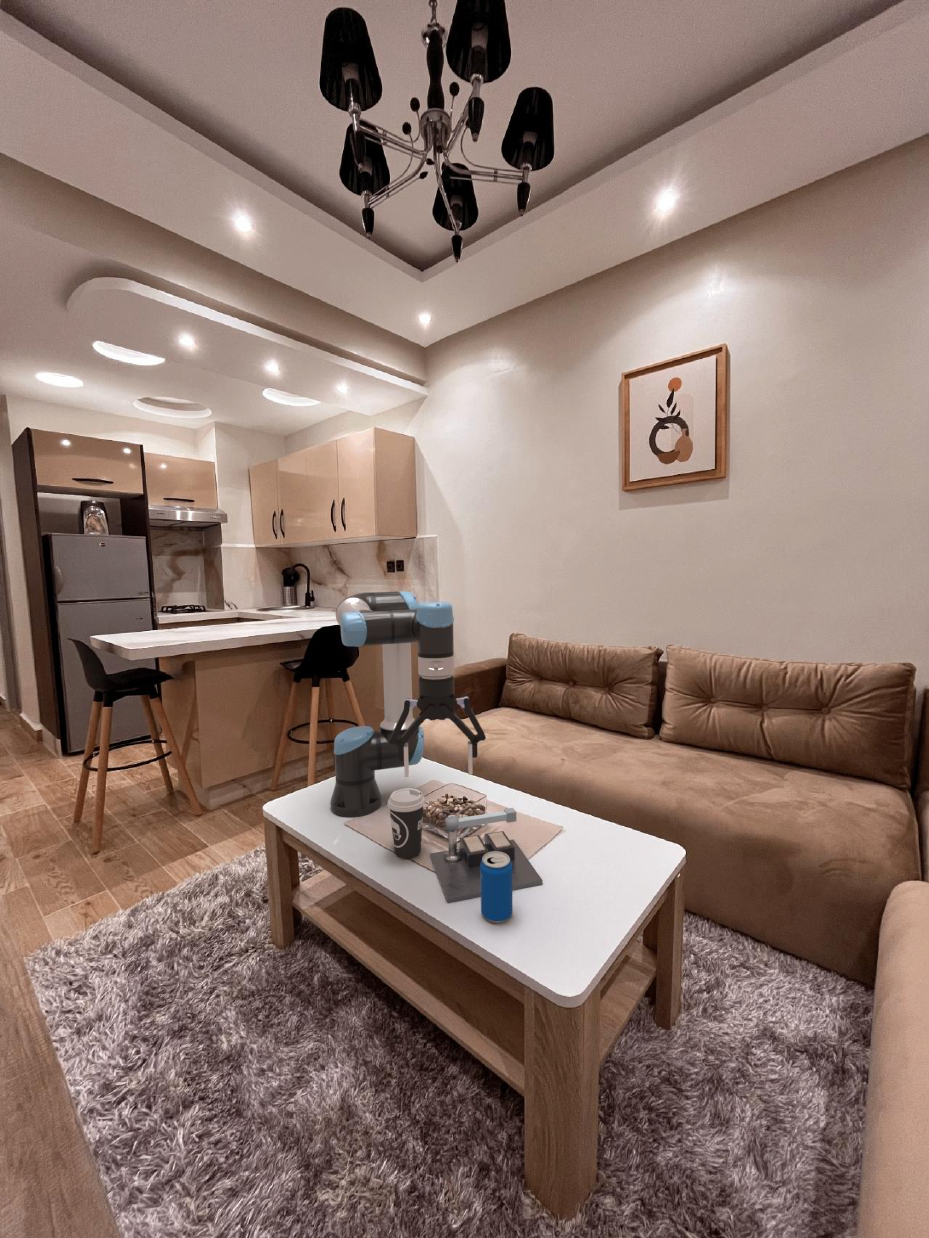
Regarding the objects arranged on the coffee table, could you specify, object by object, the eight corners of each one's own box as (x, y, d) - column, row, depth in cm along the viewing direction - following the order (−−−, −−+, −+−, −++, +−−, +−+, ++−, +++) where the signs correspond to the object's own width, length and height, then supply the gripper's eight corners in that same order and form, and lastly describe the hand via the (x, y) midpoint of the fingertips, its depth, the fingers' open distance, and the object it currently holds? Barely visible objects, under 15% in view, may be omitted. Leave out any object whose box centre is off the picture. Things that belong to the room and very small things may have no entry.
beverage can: (479, 905, 106) (478, 851, 105) (509, 902, 106) (509, 849, 105) (483, 926, 99) (482, 869, 98) (515, 924, 100) (514, 867, 99)
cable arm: (444, 826, 122) (444, 817, 122) (512, 816, 127) (512, 807, 127) (447, 833, 119) (447, 823, 119) (517, 822, 124) (516, 812, 124)
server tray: (430, 857, 124) (429, 825, 123) (513, 843, 129) (513, 812, 129) (447, 903, 106) (446, 866, 106) (542, 884, 112) (542, 849, 111)
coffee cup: (420, 864, 121) (418, 805, 119) (383, 860, 122) (381, 802, 121) (431, 843, 130) (429, 788, 128) (396, 840, 132) (394, 785, 130)
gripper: (374, 681, 100) (378, 783, 102) (497, 677, 102) (498, 777, 104) (378, 674, 108) (381, 769, 110) (493, 670, 109) (494, 764, 111)
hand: (438, 773), depth 107 cm, fingers open, 13 cm apart
